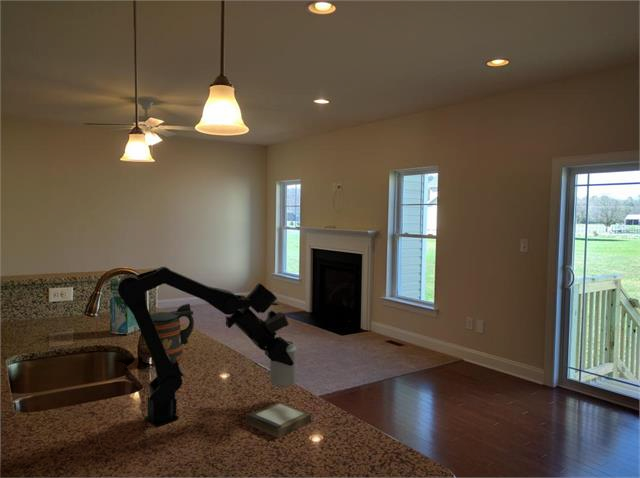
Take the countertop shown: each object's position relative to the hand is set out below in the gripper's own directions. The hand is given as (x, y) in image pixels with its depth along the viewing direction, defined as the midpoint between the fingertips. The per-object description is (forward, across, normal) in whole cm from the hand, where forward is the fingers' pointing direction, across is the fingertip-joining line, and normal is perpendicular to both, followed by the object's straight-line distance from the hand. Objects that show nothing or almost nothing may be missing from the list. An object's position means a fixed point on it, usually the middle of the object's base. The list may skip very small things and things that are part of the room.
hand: (288, 360), depth 135 cm
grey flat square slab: (+4, -13, +13) cm, 19 cm away
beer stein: (-11, +53, +29) cm, 62 cm away
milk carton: (-21, +99, +39) cm, 108 cm away
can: (+4, 0, +6) cm, 7 cm away
